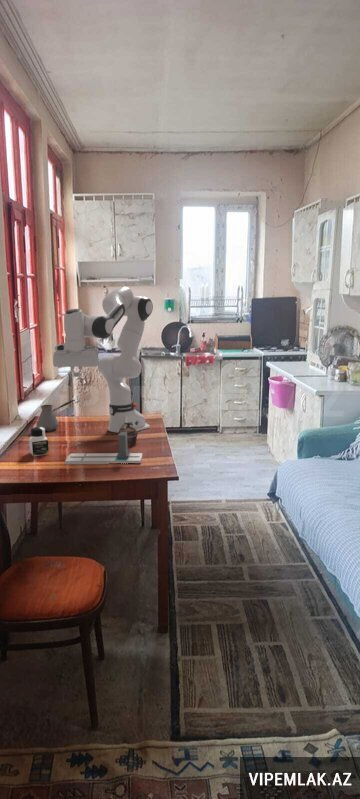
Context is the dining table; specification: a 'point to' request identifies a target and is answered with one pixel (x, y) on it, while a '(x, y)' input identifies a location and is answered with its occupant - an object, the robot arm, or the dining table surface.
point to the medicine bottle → (38, 442)
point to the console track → (102, 458)
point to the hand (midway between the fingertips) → (76, 376)
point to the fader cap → (123, 446)
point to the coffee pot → (49, 417)
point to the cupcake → (129, 432)
